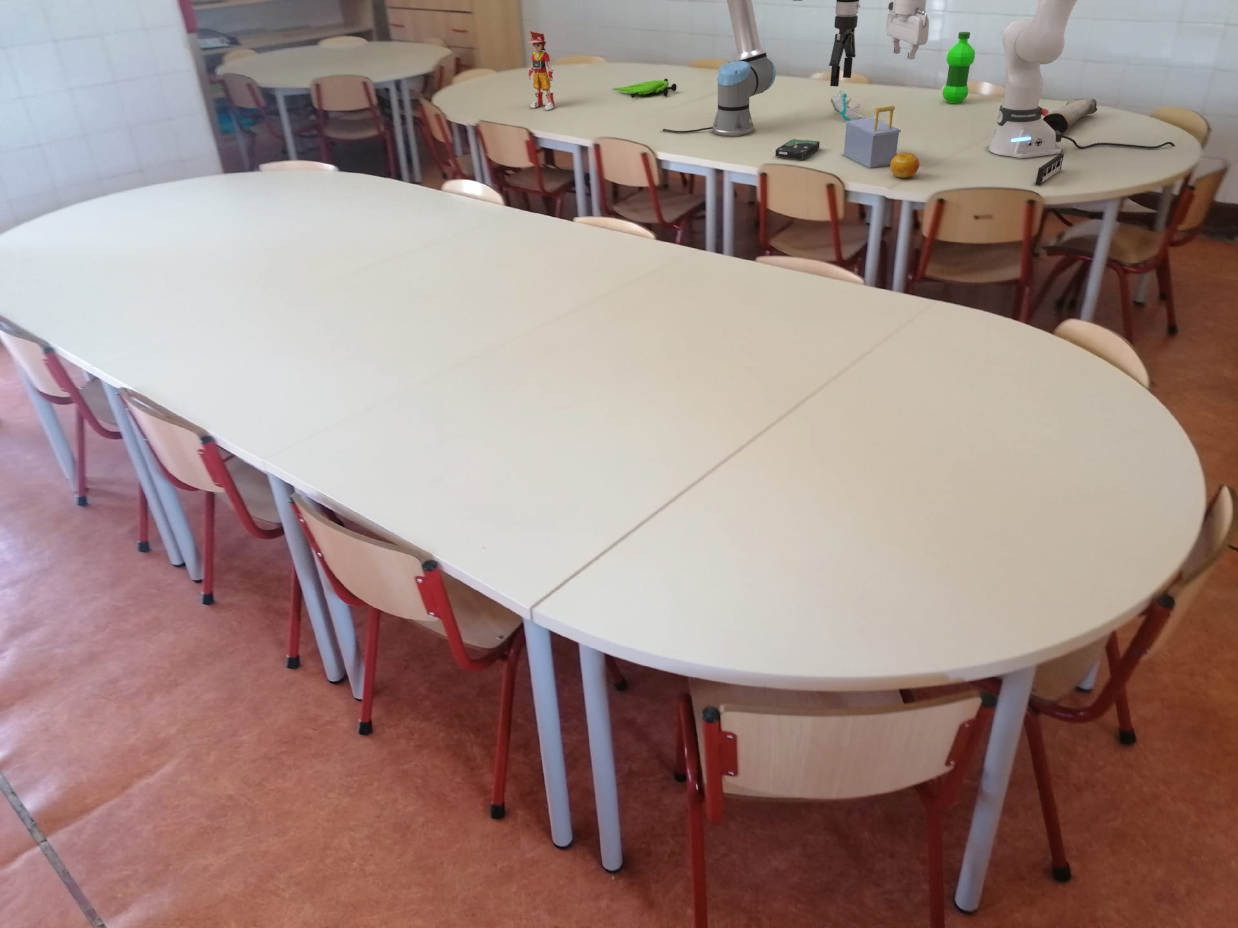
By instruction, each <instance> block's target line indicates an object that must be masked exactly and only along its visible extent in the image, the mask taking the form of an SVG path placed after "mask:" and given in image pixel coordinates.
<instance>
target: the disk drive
mask: <svg viewBox="0 0 1238 928" xmlns="http://www.w3.org/2000/svg"><path fill="white" fill-rule="evenodd" d="M820 145H821V142H820V141H818V140H810V139H798V138H797V139H796V138H793V139H790V140H789V141H787V142H785V143H784V144H782V145H780V146H779V147H777V148H776V149H775V152H774V153H775V154H774V155H775V157H777V158H782V159H789V160H800V161H802V160H805V159H807V158H808V157H809V156H810V155H812V154H814V153H815V152H817V151H818V150H819V149H820Z"/></svg>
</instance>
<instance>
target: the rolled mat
mask: <svg viewBox="0 0 1238 928" xmlns="http://www.w3.org/2000/svg"><path fill="white" fill-rule="evenodd" d="M1097 106H1098V105H1097V100H1096V99H1095V98H1089V97H1084V98H1077V99H1071V100H1069V101H1067V102H1066V104H1065V105H1063V106H1061V107H1059V108H1057V109H1055V110H1053V111H1052V112H1049V113H1048V114H1047V116H1043V117H1042V119H1043V120H1044V121H1045V122H1046V123H1047V124H1048V125H1049V126H1050V127H1051V128H1052V129H1053V130H1058V131H1059V132H1061V133H1062V135H1063V134H1065V133H1066V132H1067V131H1068V130H1069V129H1070V128H1071V127H1072V126H1073V125H1074V124H1075V123H1076V122H1077V121H1079V120H1080V119H1081V118H1082V117H1084V116H1086V115H1092V114H1095V113H1096V112H1097V111H1098V108H1097Z"/></svg>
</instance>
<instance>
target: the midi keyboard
mask: <svg viewBox="0 0 1238 928" xmlns="http://www.w3.org/2000/svg"><path fill="white" fill-rule="evenodd" d="M1064 157H1065V153H1059V154H1057V155H1056V156H1055V157H1052V159H1051V160H1049V161H1047V162H1045V164H1042V165H1041V166H1039V167H1038V169H1037V175H1036V179H1035V186H1040V185H1042V183H1044V182H1045V181H1047V180H1048V179H1049V178H1051V177H1052V176H1054V175H1055V174H1056V173H1058V172H1060V171H1061V170H1062V165H1063V161H1064Z"/></svg>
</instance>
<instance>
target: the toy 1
mask: <svg viewBox="0 0 1238 928" xmlns="http://www.w3.org/2000/svg"><path fill="white" fill-rule="evenodd" d="M529 33H530V35H531V36H528V37H527V38H528V39H529V40H528V41H527V43H529V44H530V43H531V44H532V48H533V50H534V51H533V52H532V55H531V58H530V59H531V63H530V66H528V74H527V75H528V76H527V77H528V79H529V80H531V75H532V74H533V84H532V85H533V86H532V87H533V88H534V89H535V90H536V92H534V95H535V97H536V100H535V101H533V102H531V105H530V108H531V109H535V108H538V107H542V106H544V101H543V100H544V99H543V95H544V92H546V94H545V97H546V99H547V103H546V104H545V106H544V110H546V111H549V110H553V109H554V107H555V106H556V105H555V99H554V92H551V91H550V90H551V86H552V84H551V82H552V81H553V80H554V77H553V73H554V71H555V70H554V69H552V68H551V63H550V61H551V59H550V58H551V57H550V54H549V53H548V52H547V50H546V48H545V46H546V44H547V41H545V35H544V33H543V32H542V33H539V32H535V31H529Z"/></svg>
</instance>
